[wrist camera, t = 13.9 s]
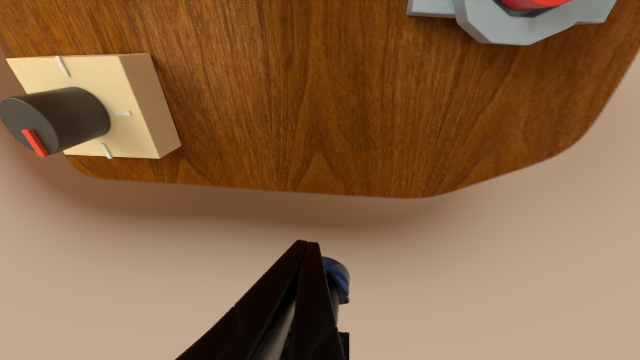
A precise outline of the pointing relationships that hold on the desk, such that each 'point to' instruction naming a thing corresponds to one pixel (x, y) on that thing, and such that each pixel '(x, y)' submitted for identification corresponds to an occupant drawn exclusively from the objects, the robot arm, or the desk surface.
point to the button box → (512, 18)
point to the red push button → (532, 4)
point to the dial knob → (54, 119)
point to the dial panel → (110, 100)
